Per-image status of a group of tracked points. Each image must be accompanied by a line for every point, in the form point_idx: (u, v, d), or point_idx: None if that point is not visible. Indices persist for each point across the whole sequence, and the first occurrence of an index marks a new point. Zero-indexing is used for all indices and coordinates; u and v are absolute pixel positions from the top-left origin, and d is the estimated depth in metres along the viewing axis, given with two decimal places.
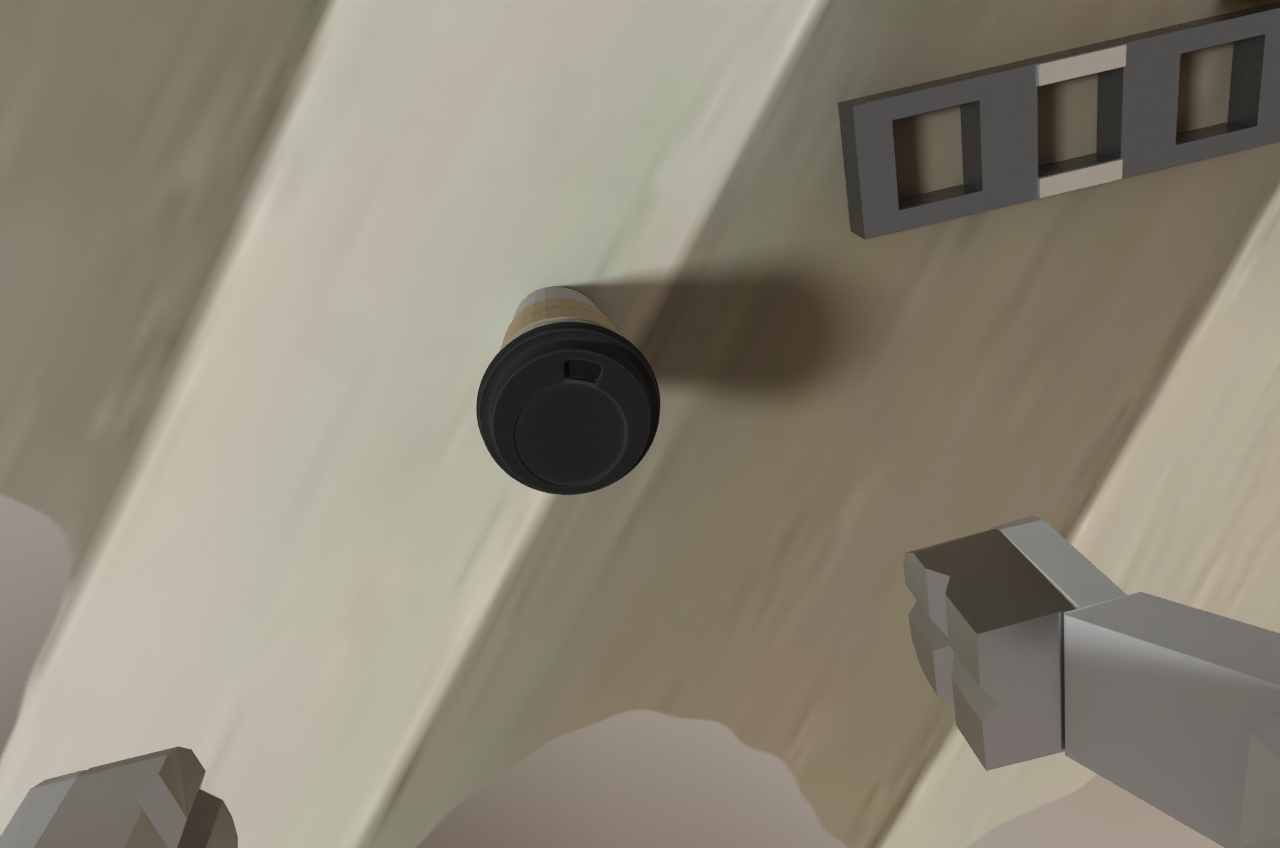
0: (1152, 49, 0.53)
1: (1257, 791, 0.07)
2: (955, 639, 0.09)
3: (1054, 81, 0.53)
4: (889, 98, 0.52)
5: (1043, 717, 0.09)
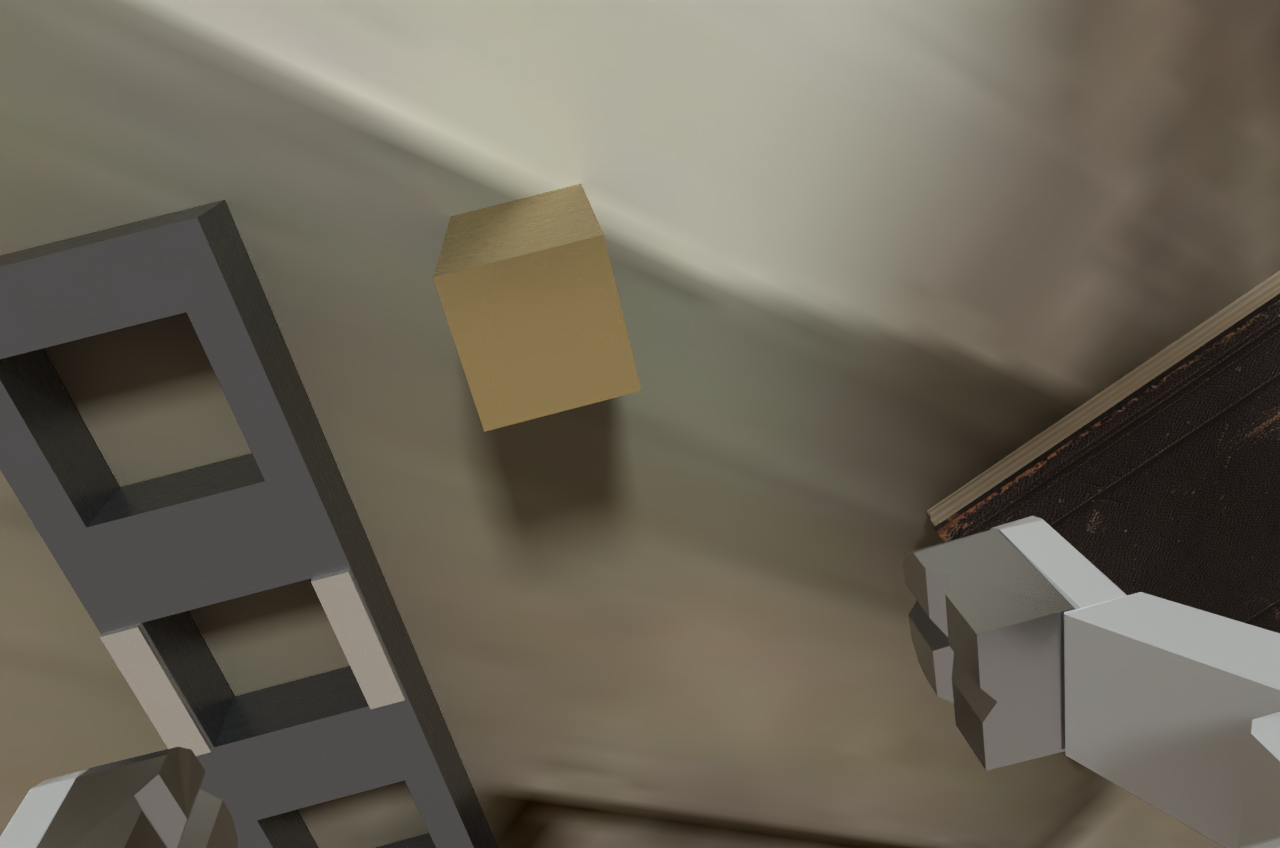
0: (404, 738, 0.31)
1: (1257, 791, 0.07)
2: (955, 639, 0.09)
3: (324, 605, 0.28)
4: (231, 298, 0.24)
5: (1043, 717, 0.09)
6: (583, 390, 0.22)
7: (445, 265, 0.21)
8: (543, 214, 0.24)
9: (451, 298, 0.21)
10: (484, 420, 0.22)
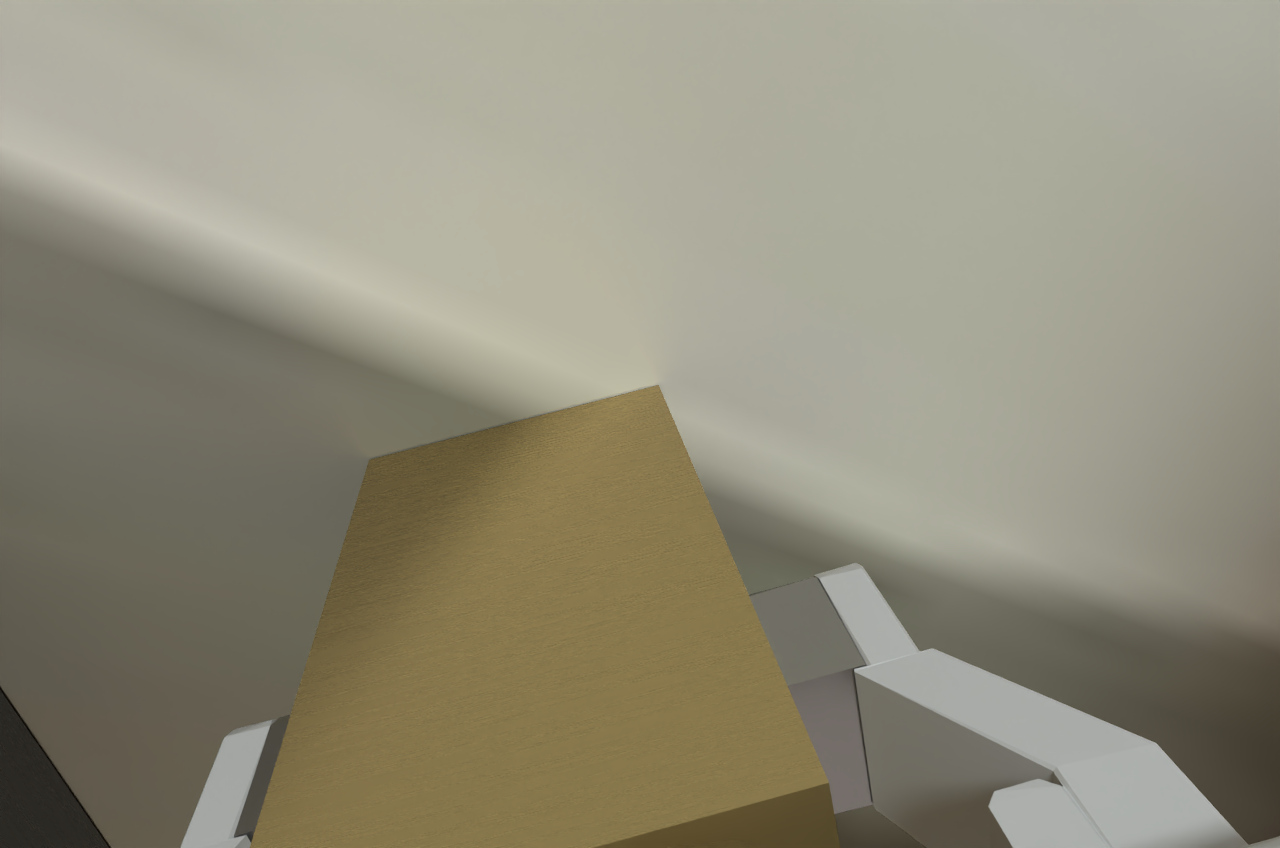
0: None
1: None
2: None
3: None
4: None
5: (847, 771, 0.09)
6: None
7: (285, 823, 0.06)
8: (586, 523, 0.09)
9: None
10: None
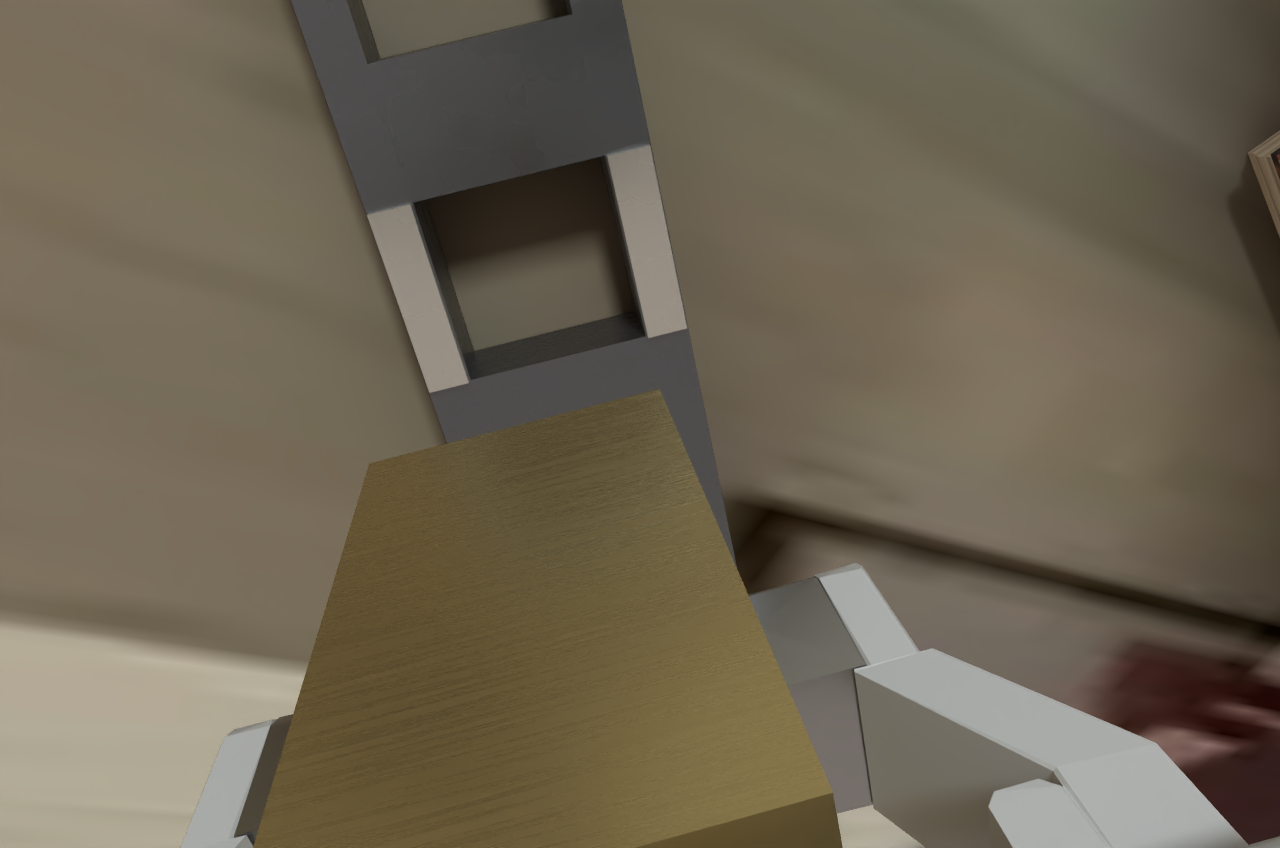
0: (676, 383, 0.28)
1: None
2: None
3: (615, 193, 0.25)
4: None
5: (847, 771, 0.09)
6: None
7: (286, 833, 0.06)
8: (587, 529, 0.09)
9: None
10: None
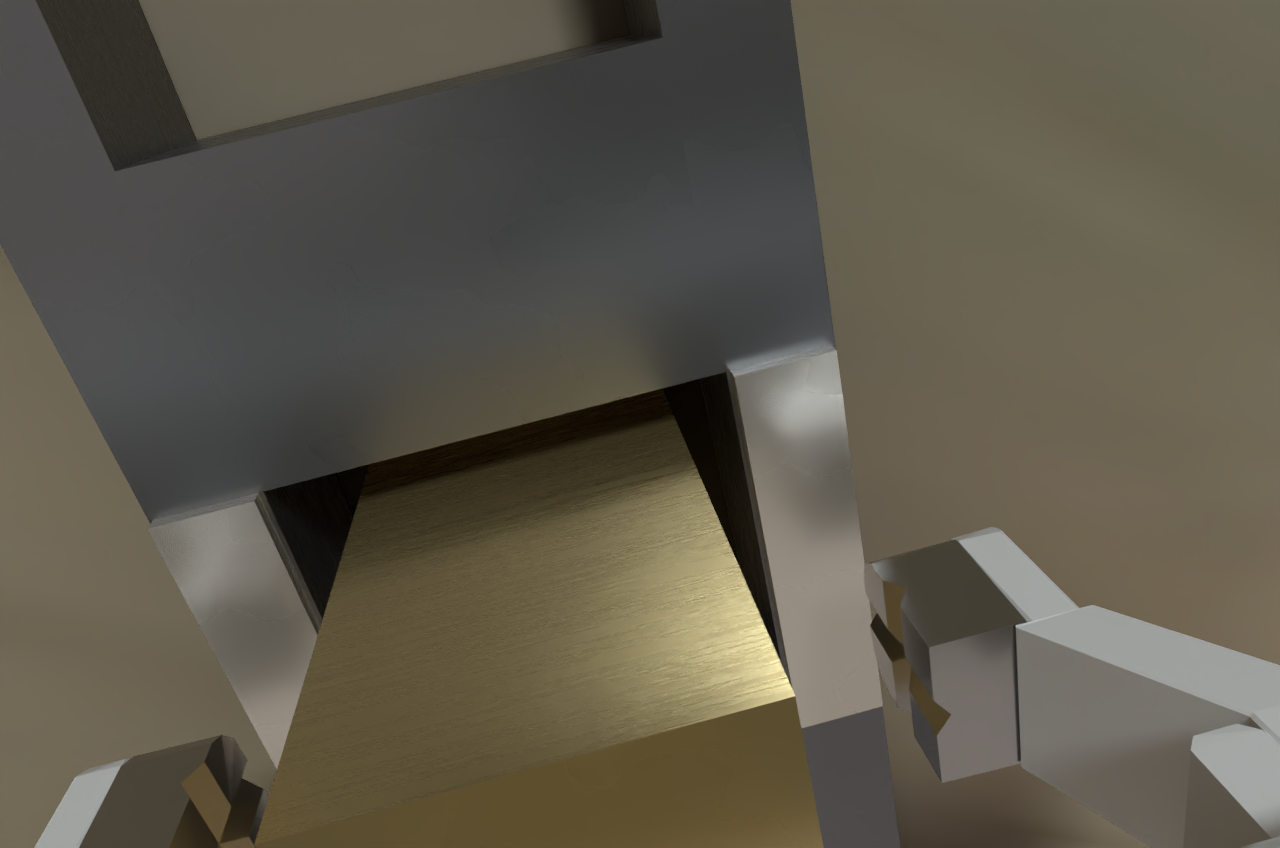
0: (848, 796, 0.13)
1: (1197, 808, 0.07)
2: (911, 650, 0.09)
3: (745, 450, 0.11)
4: None
5: (998, 730, 0.09)
6: None
7: (311, 742, 0.07)
8: (582, 486, 0.10)
9: None
10: None
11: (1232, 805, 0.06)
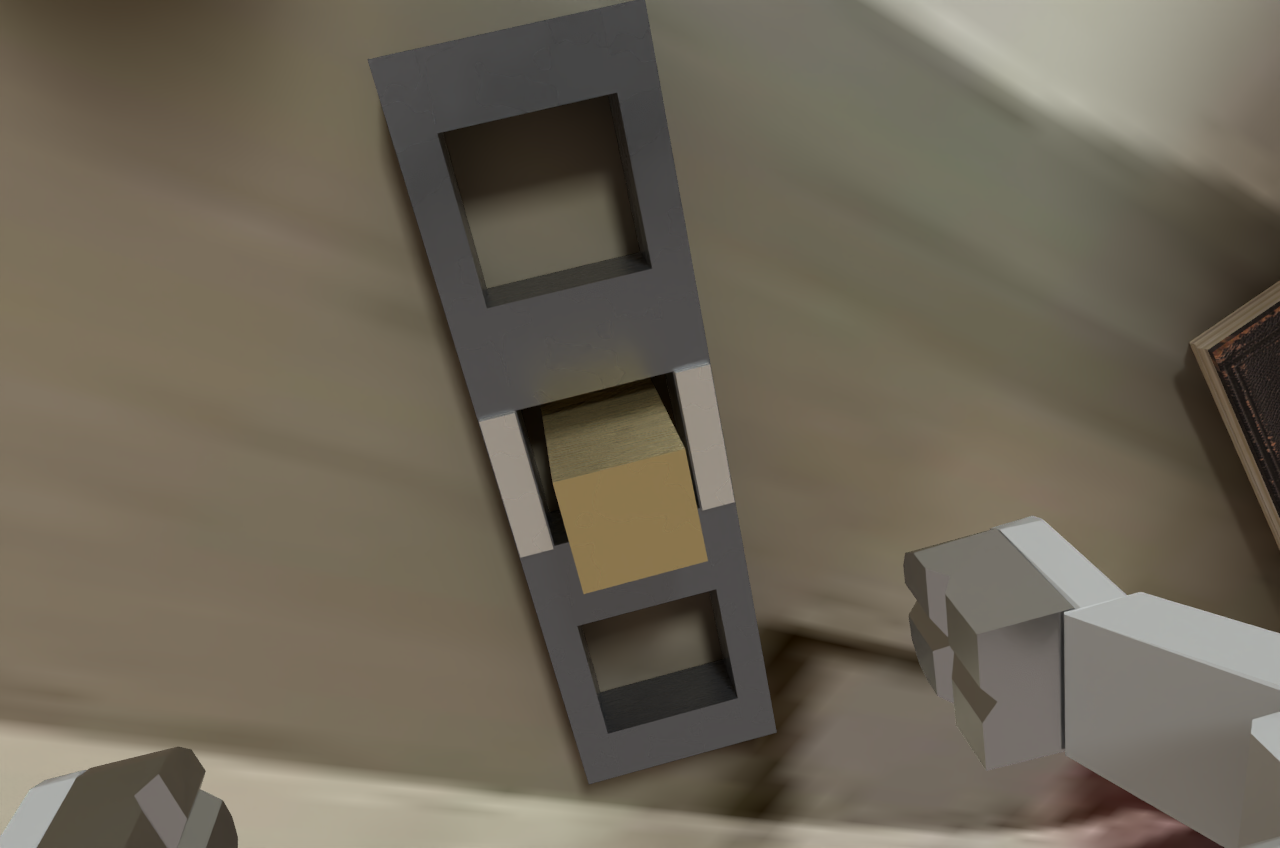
0: (724, 544, 0.33)
1: (1257, 791, 0.07)
2: (955, 639, 0.09)
3: (679, 399, 0.30)
4: (657, 81, 0.26)
5: (1043, 717, 0.09)
6: (662, 561, 0.28)
7: (557, 467, 0.27)
8: (624, 409, 0.30)
9: (565, 497, 0.26)
10: (584, 585, 0.28)
11: None
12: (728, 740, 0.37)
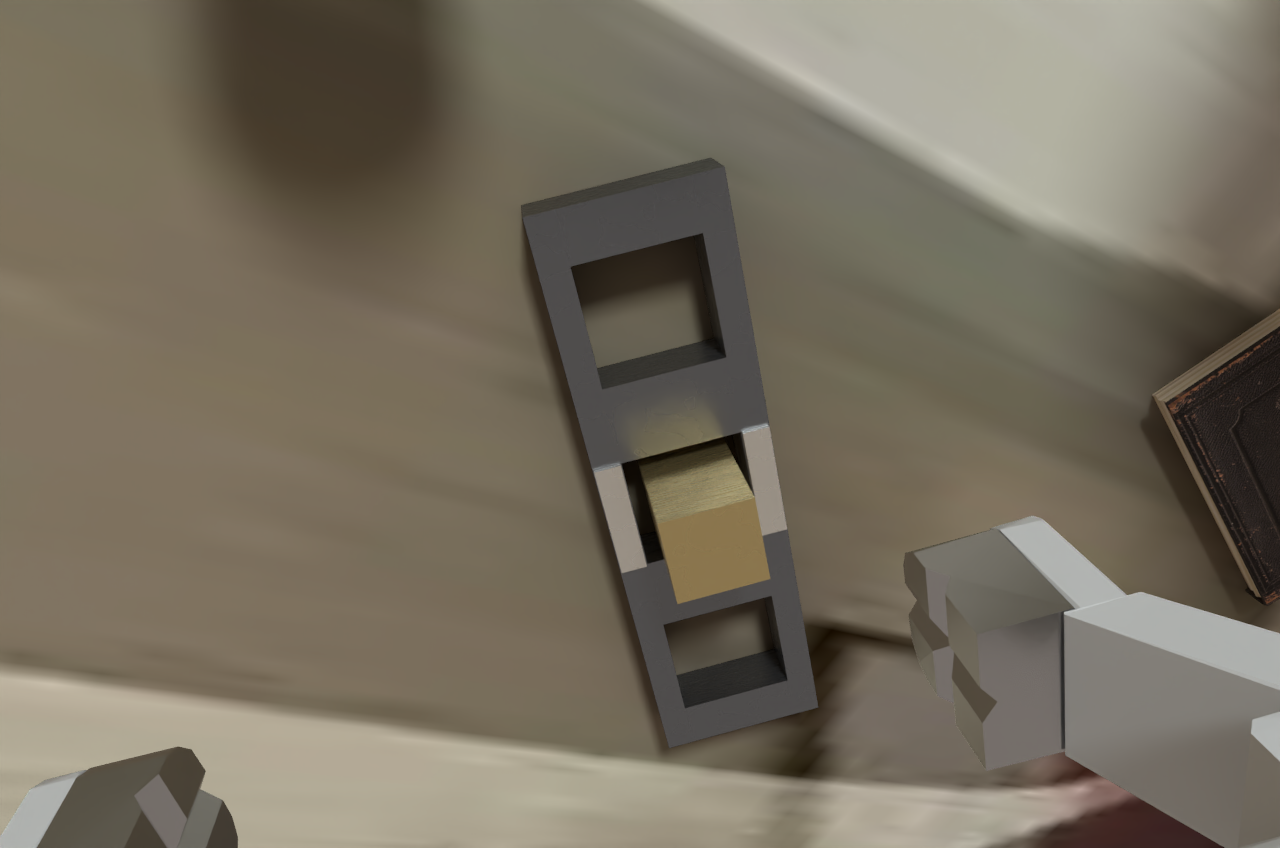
0: (778, 561, 0.42)
1: (1257, 791, 0.07)
2: (955, 638, 0.09)
3: (745, 452, 0.40)
4: (733, 223, 0.35)
5: (1043, 717, 0.09)
6: (736, 579, 0.37)
7: (659, 510, 0.36)
8: (703, 461, 0.39)
9: (666, 534, 0.35)
10: (678, 597, 0.37)
11: None
12: (780, 713, 0.46)
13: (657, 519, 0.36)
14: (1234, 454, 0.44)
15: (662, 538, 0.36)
